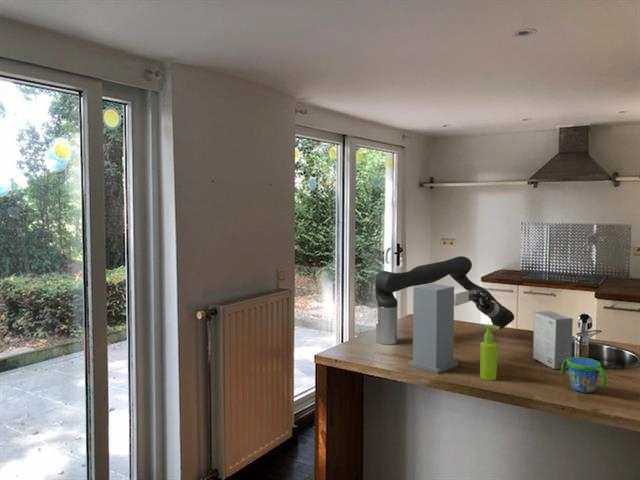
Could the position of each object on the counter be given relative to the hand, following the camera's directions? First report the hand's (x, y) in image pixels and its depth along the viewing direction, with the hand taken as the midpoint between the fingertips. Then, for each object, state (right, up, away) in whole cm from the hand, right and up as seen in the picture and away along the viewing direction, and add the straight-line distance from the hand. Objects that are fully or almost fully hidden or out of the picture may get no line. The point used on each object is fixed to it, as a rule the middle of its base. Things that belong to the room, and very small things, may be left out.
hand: (470, 292), depth 227 cm
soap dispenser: (-2, -29, -31) cm, 43 cm away
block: (-4, -4, -3) cm, 6 cm away
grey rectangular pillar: (-20, -28, -17) cm, 38 cm away
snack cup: (+26, -30, -44) cm, 60 cm away
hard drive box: (+29, -28, -15) cm, 42 cm away
